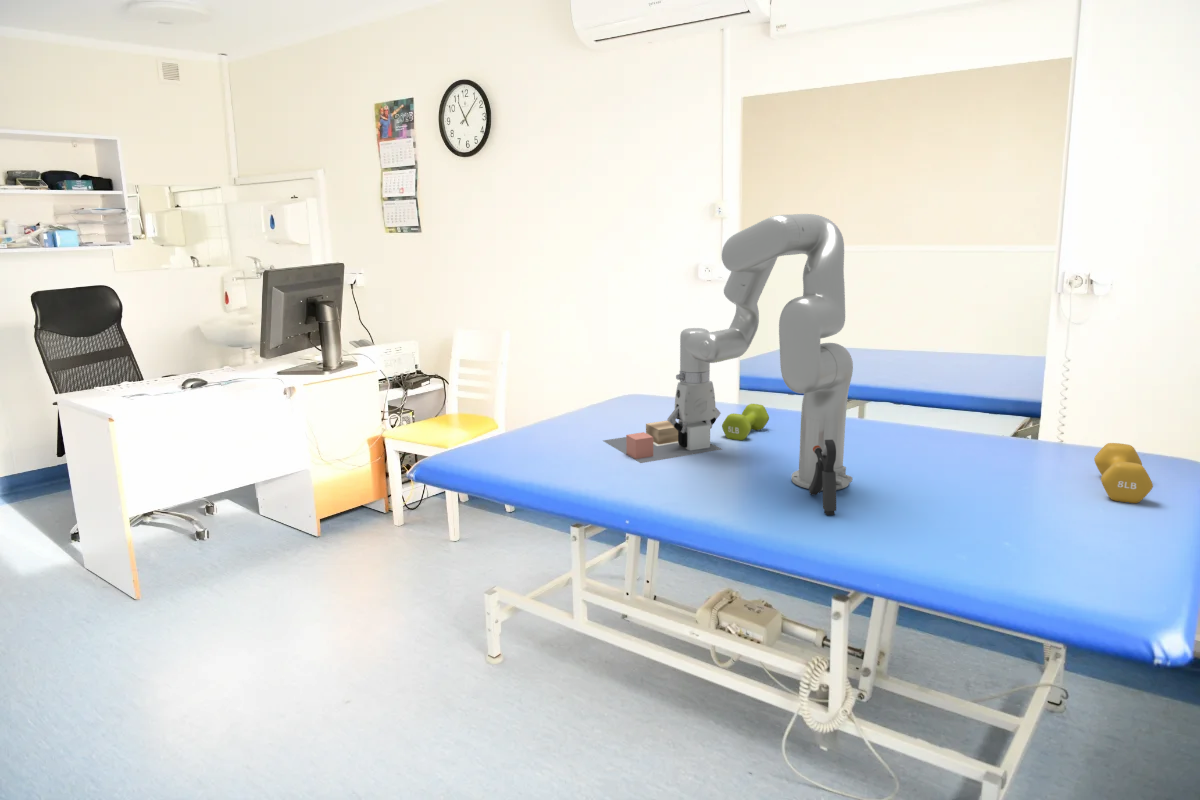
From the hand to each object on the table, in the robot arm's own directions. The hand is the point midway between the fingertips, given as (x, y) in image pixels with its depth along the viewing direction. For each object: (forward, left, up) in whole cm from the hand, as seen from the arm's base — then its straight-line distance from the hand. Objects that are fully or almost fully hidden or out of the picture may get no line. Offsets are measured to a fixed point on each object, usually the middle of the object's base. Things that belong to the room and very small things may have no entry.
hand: (694, 443), depth 203 cm
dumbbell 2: (-70, -64, -1) cm, 95 cm away
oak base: (+9, +4, -1) cm, 10 cm away
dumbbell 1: (+4, -19, -1) cm, 19 cm away
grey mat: (+5, +7, -1) cm, 9 cm away
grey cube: (0, 0, -1) cm, 1 cm away
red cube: (0, +16, -1) cm, 16 cm away
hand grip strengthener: (-47, -2, -1) cm, 47 cm away
